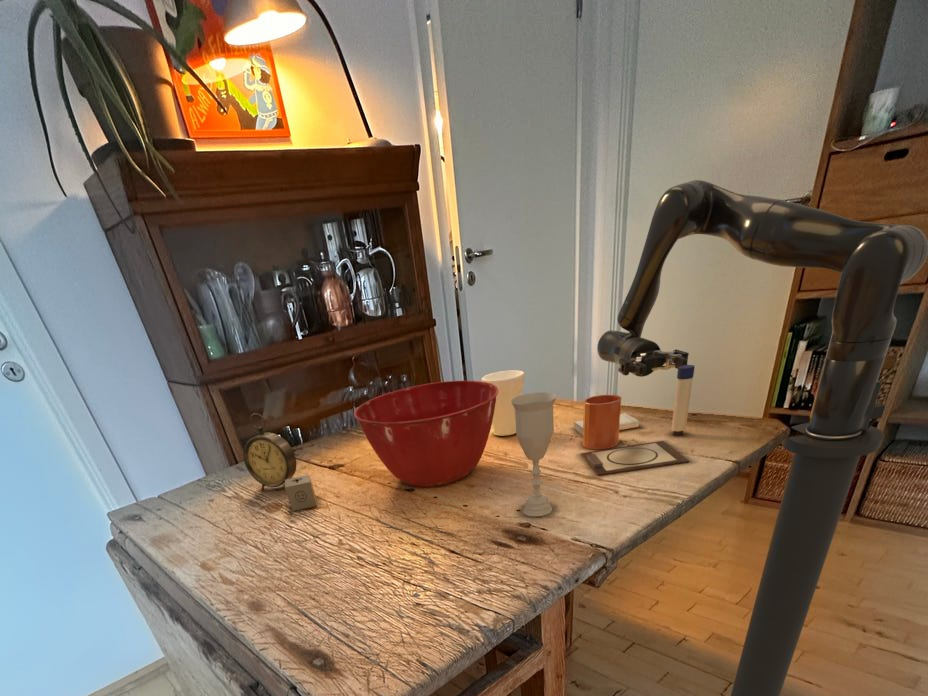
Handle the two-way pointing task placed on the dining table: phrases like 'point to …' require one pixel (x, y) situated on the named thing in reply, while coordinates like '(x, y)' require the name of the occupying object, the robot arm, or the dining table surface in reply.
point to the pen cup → (601, 421)
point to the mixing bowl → (430, 430)
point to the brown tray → (633, 458)
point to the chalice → (535, 440)
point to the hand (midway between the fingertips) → (664, 367)
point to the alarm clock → (269, 458)
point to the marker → (682, 398)
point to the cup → (505, 399)
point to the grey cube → (300, 492)
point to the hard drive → (625, 423)
